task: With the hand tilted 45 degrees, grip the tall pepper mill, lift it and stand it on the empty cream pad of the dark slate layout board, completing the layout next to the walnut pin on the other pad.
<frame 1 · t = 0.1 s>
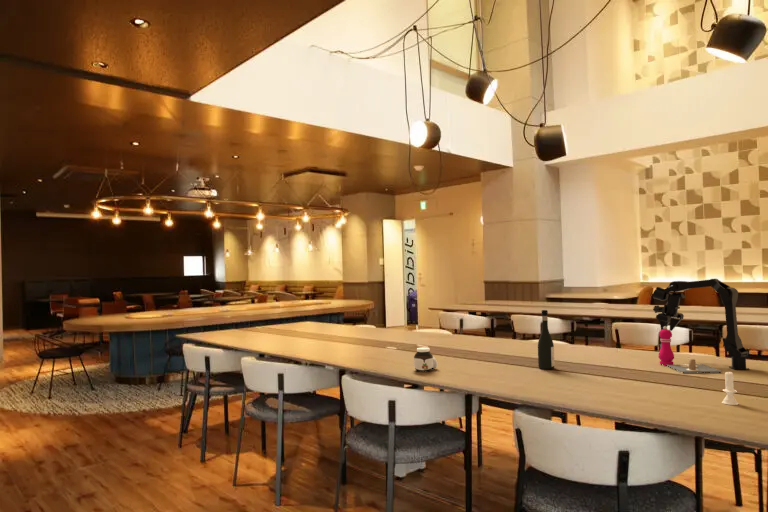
hand: (666, 331, 289), 15 cm above the table, tool pointing down, fingers open, 9 cm apart
pepper mill: (666, 365, 275), on the table
spread jar: (426, 370, 279), on the table
wine bottle: (546, 368, 275), on the table
candle: (730, 403, 200), on the table
layout board: (693, 369, 261), on the table
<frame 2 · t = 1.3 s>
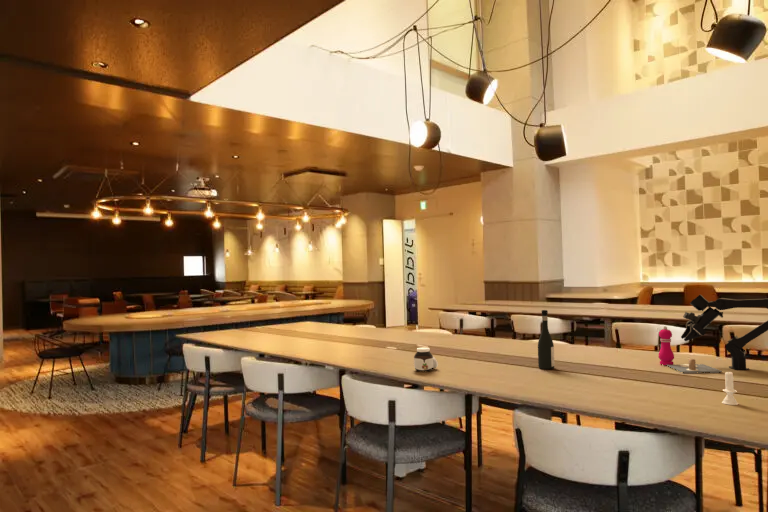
hand: (683, 339, 272), 13 cm above the table, tool tilted 45°, fingers open, 9 cm apart
nothing on the table moved.
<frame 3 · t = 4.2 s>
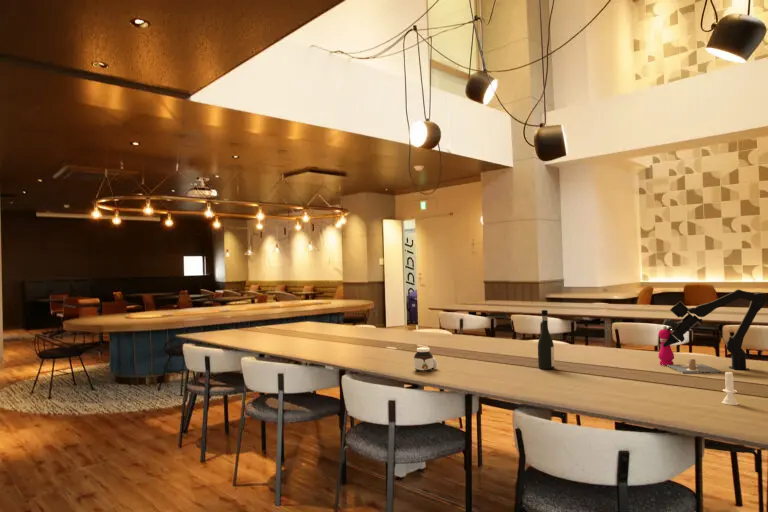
hand: (662, 345, 275), 10 cm above the table, tool tilted 45°, fingers closed on pepper mill, 5 cm apart
pepper mill: (666, 365, 275), on the table, touching gripper
everything else where it was.
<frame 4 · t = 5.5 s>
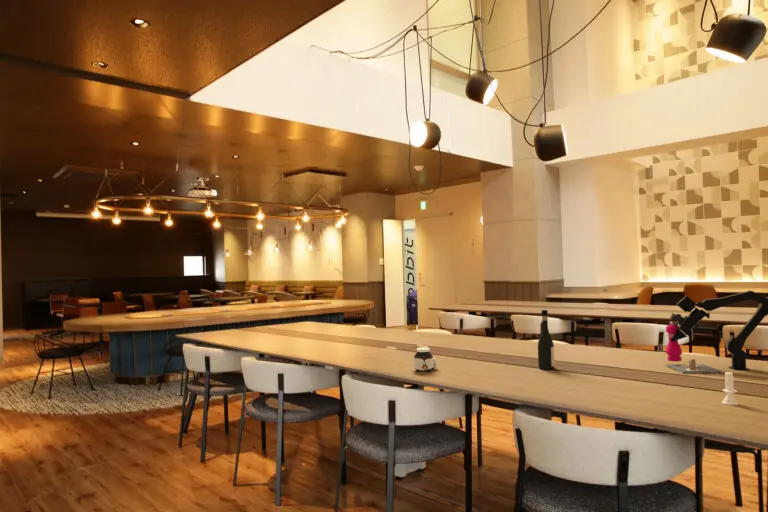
hand: (670, 340, 273), 13 cm above the table, tool tilted 45°, fingers closed on pepper mill, 5 cm apart
pepper mill: (674, 360, 272), point 3 cm above the table, touching gripper
everything else where it was.
when the fingers open (12 cm above the table, at t = 7.2 s): pepper mill stays where it is, resting on layout board.
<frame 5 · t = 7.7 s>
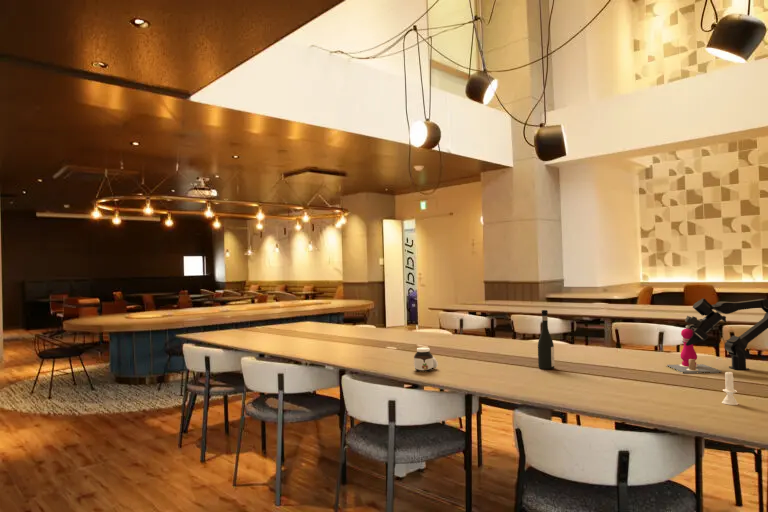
hand: (684, 343, 267), 12 cm above the table, tool tilted 45°, fingers open, 9 cm apart
pepper mill: (689, 365, 266), point 1 cm above the table, touching layout board
everything else where it was.
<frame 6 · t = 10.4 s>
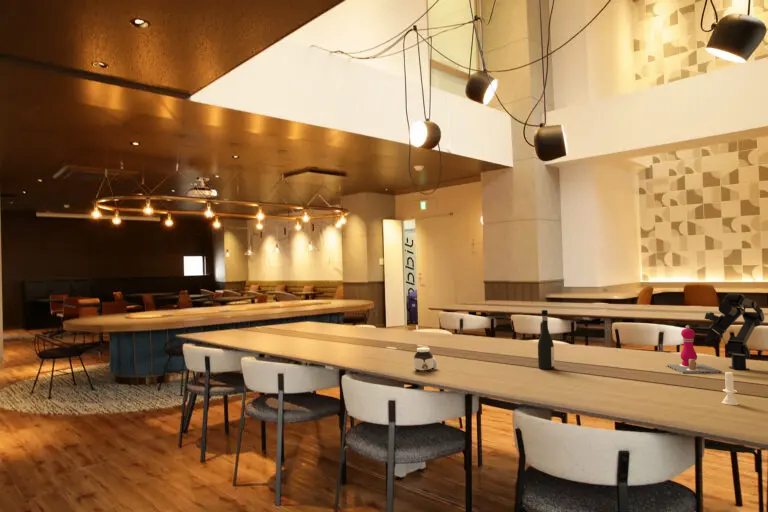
hand: (706, 340, 265), 14 cm above the table, tool tilted 40°, fingers open, 9 cm apart
nothing on the table moved.
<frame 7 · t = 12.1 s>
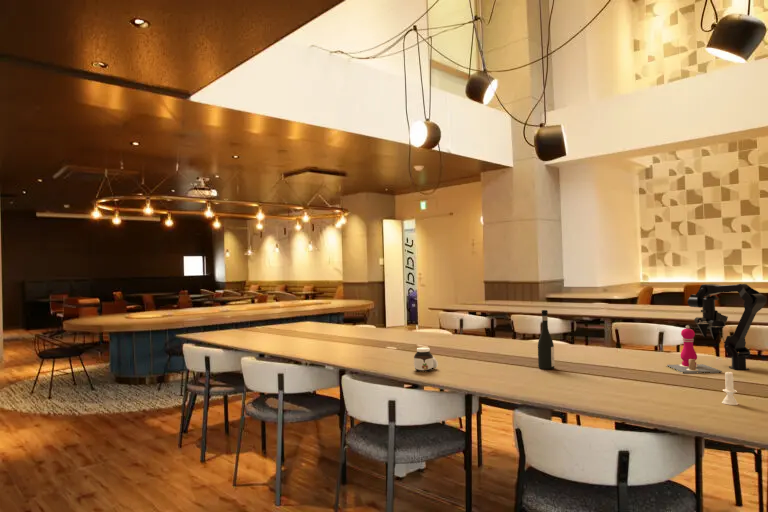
hand: (709, 338, 275), 13 cm above the table, tool pointing down, fingers open, 9 cm apart
nothing on the table moved.
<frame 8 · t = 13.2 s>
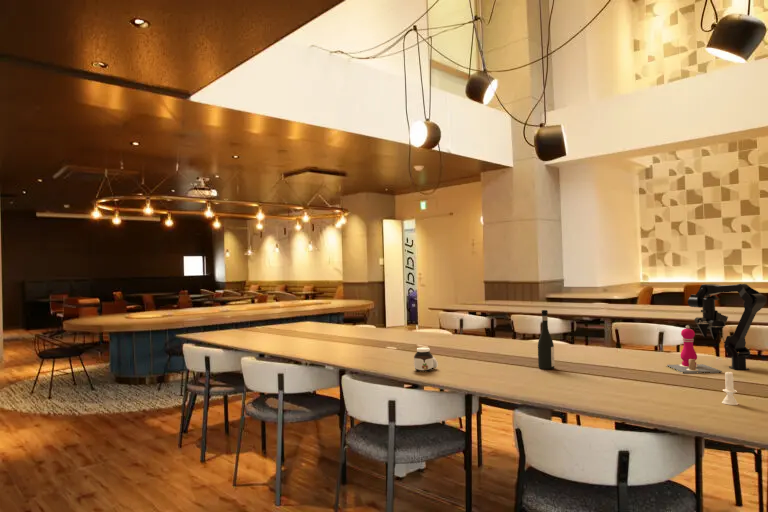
hand: (710, 338, 275), 13 cm above the table, tool pointing down, fingers open, 9 cm apart
nothing on the table moved.
at the end: pepper mill 0.2 cm from the target spot on the layout board, point 1.0 cm above the layout board's base; pepper mill tilted 0°; the gripper is holding nothing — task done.
